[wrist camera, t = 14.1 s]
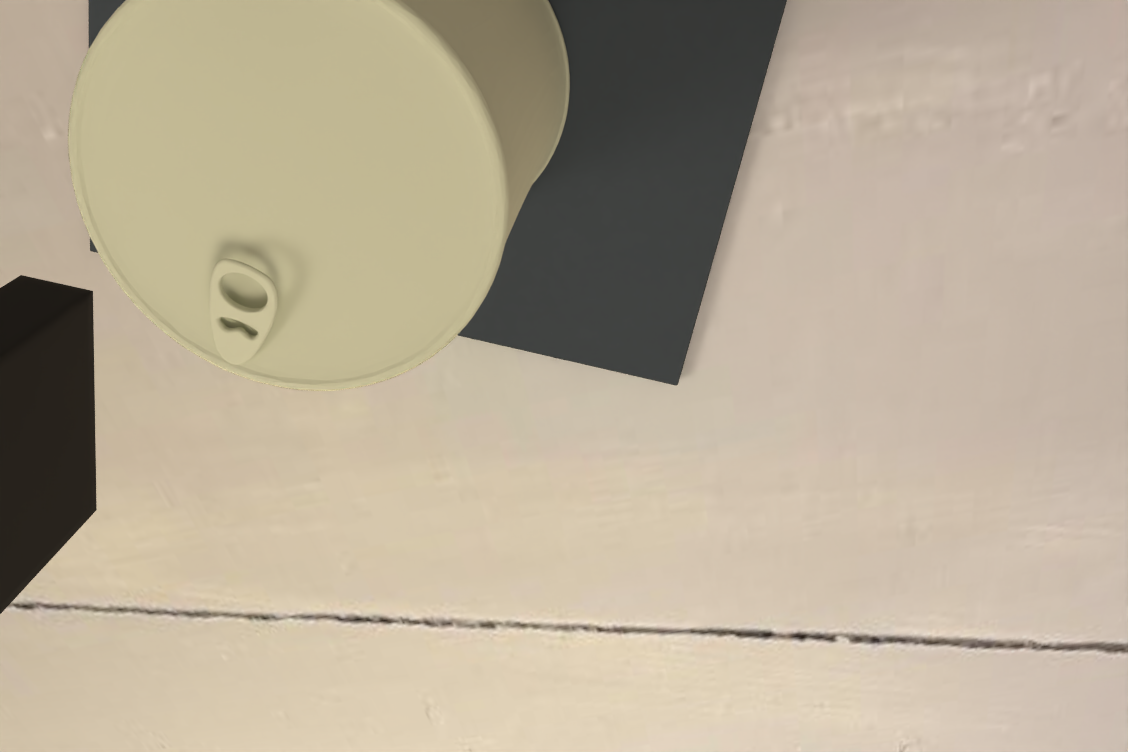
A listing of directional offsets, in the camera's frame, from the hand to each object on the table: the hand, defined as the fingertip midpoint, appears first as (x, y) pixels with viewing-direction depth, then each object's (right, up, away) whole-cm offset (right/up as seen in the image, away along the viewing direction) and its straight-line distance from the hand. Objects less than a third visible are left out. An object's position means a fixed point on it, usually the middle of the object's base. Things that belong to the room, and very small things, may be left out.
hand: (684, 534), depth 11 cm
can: (-6, +11, +21) cm, 24 cm away
